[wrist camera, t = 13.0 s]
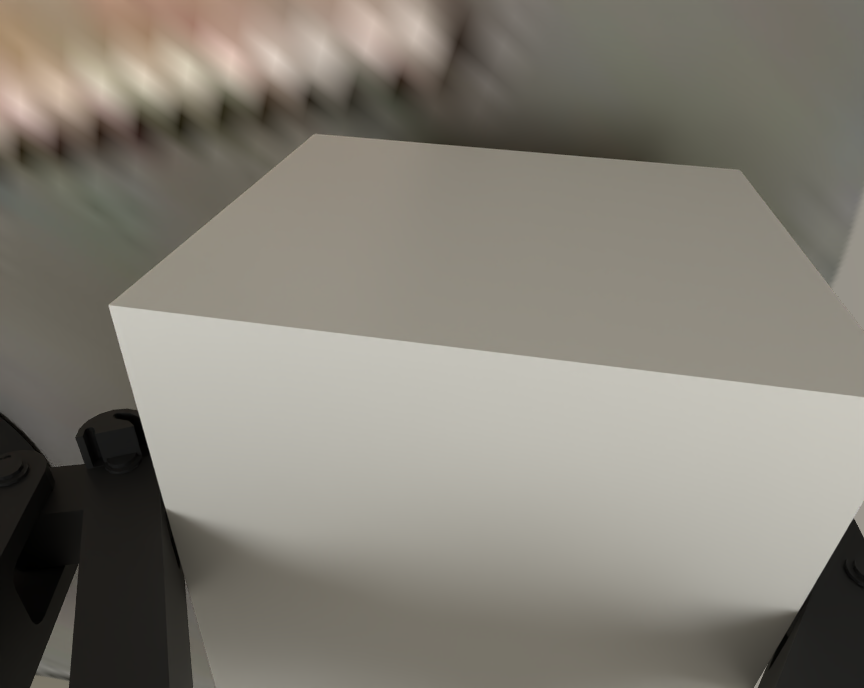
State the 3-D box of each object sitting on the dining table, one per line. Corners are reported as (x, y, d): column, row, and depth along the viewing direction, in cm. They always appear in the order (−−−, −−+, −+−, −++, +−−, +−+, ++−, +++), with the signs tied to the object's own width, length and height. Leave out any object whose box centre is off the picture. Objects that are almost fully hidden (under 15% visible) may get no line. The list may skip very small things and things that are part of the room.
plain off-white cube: (642, 484, 20) (691, 793, 13) (333, 440, 21) (219, 701, 14) (739, 169, 15) (921, 404, 7) (314, 133, 16) (108, 305, 9)
